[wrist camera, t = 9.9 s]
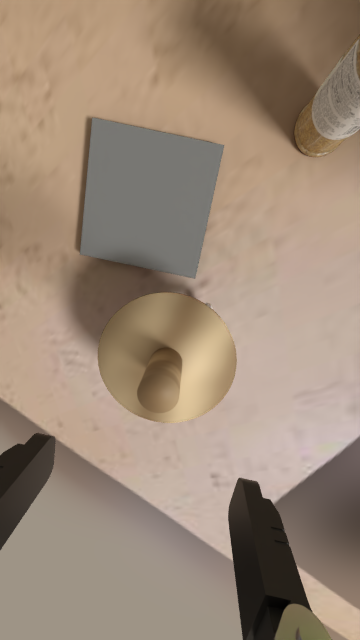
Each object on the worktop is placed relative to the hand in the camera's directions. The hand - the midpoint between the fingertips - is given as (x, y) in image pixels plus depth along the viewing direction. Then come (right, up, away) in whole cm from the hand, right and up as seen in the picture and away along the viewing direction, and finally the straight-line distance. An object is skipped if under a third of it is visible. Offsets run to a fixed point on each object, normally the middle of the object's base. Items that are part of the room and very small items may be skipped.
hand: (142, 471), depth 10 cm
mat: (-2, +18, +13) cm, 22 cm away
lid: (0, +3, +11) cm, 12 cm away
